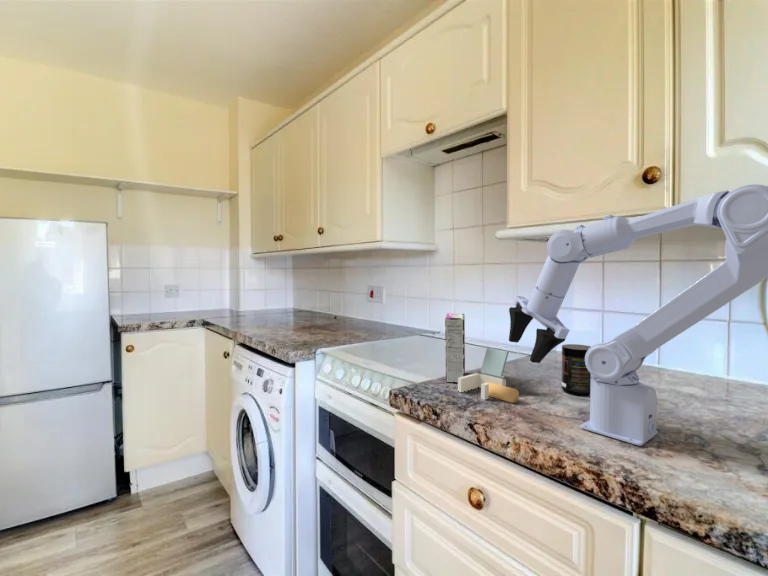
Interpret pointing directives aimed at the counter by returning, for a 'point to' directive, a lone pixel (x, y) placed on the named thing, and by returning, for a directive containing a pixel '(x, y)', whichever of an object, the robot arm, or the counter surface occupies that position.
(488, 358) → the cover flap
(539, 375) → the counter surface
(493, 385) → the tan cylinder roller
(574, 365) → the supplement container
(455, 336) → the candy bar box
